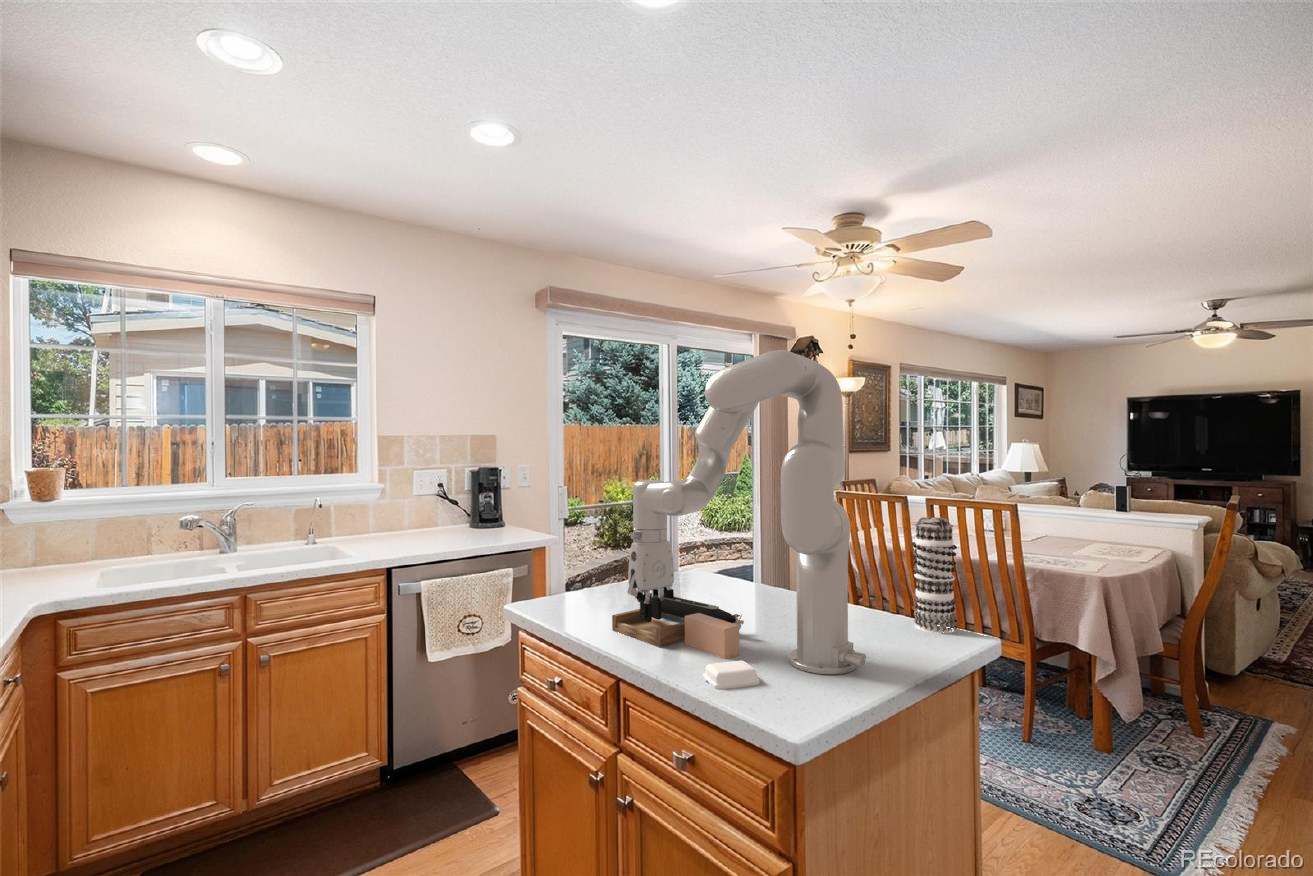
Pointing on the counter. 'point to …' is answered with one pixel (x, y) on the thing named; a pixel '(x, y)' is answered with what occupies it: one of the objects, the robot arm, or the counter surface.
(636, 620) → the wooden tray
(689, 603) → the submarine model
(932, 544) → the decorative candle
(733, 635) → the clay block
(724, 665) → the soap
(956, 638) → the counter surface
